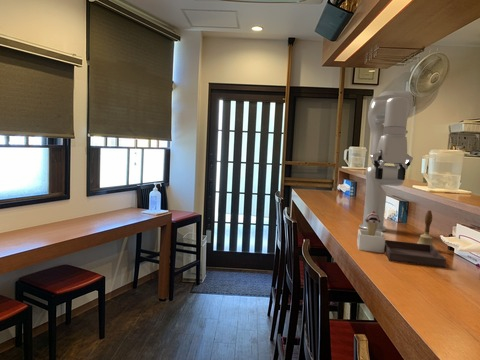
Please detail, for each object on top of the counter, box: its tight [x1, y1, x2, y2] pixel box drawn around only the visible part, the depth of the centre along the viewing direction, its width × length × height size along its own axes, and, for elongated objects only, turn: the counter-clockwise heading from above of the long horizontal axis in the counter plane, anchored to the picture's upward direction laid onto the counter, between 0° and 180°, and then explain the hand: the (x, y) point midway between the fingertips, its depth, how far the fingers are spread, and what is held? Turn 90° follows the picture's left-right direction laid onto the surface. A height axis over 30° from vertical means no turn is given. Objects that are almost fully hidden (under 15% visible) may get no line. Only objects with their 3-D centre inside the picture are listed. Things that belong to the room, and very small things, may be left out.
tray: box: [384, 239, 447, 269], centre depth 129 cm, size 18×18×3 cm
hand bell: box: [417, 209, 436, 249], centre depth 139 cm, size 8×8×16 cm
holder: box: [356, 228, 386, 254], centre depth 137 cm, size 9×9×6 cm
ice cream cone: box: [365, 211, 380, 236], centre depth 137 cm, size 6×6×15 cm
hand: (389, 179), depth 127 cm, fingers open, 9 cm apart
